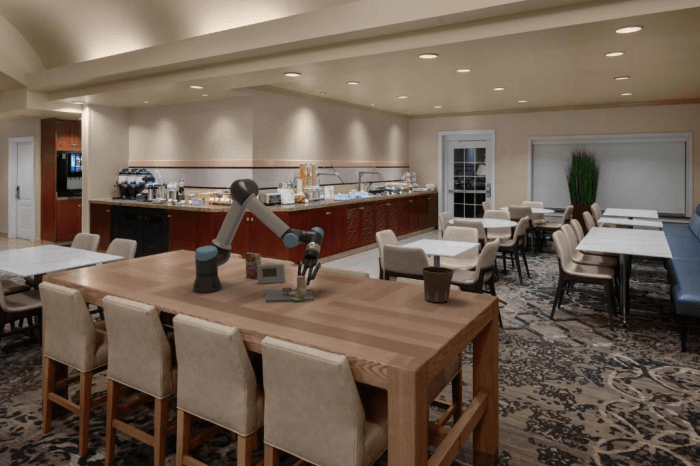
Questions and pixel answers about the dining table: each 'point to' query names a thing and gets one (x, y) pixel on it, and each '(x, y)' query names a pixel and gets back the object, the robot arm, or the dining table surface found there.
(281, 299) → the dial board
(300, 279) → the lever
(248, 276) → the candy box
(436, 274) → the plant pot
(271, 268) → the digital clock
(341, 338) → the dining table surface
